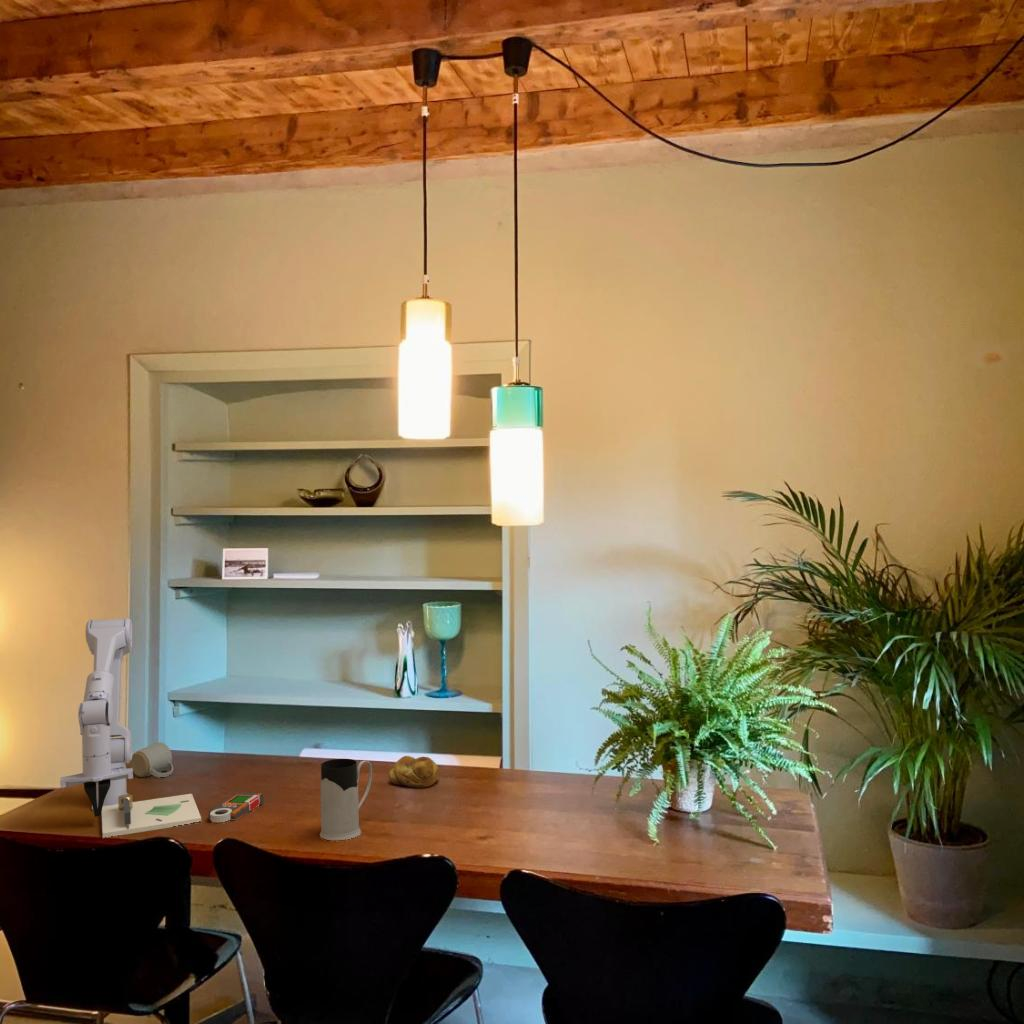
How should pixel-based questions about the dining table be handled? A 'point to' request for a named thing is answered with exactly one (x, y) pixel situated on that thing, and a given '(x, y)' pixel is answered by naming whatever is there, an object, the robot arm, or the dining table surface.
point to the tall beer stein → (341, 798)
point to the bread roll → (414, 772)
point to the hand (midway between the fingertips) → (97, 815)
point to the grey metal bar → (125, 807)
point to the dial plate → (150, 815)
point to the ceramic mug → (152, 761)
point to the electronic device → (235, 806)
